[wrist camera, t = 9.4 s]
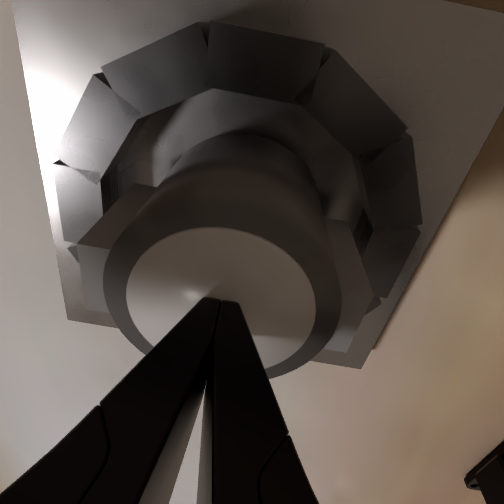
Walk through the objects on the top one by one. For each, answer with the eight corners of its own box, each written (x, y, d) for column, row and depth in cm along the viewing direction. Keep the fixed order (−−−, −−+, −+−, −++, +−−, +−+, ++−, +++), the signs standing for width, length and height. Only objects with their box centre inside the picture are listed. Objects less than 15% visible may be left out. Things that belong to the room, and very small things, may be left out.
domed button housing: (358, 154, 11) (411, 236, 7) (313, 288, 14) (328, 404, 10) (146, 114, 11) (55, 172, 6) (146, 259, 14) (86, 366, 9)
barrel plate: (526, 23, 10) (598, 21, 7) (356, 352, 17) (368, 399, 15) (20, -85, 9) (-61, -121, 7) (78, 305, 17) (48, 346, 15)
